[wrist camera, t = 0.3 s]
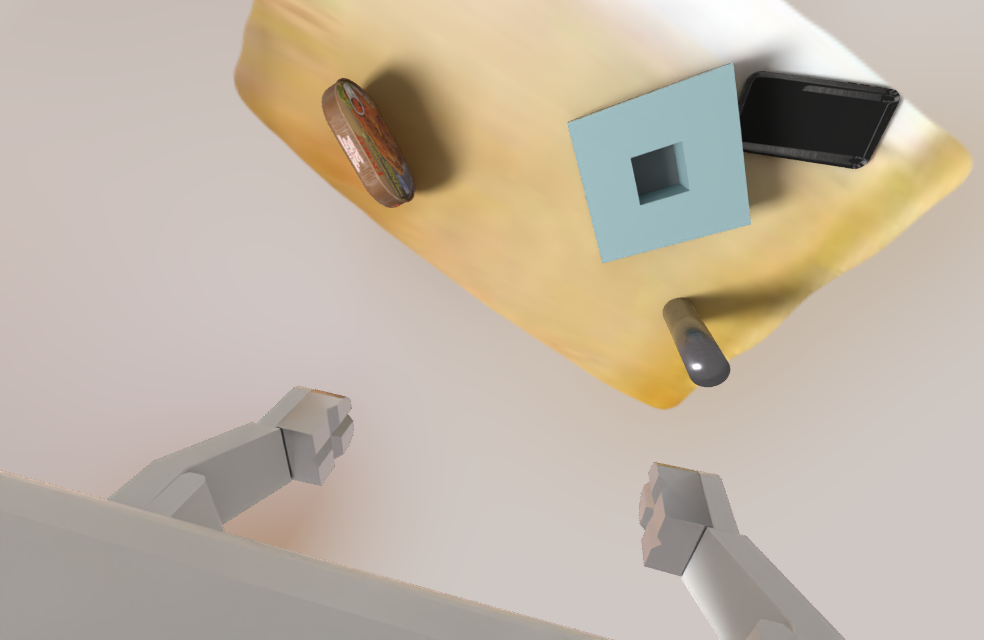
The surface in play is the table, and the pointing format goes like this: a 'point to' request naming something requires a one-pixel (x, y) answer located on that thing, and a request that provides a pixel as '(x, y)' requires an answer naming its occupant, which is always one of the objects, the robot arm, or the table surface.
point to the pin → (695, 344)
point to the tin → (368, 143)
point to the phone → (813, 118)
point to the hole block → (664, 165)
